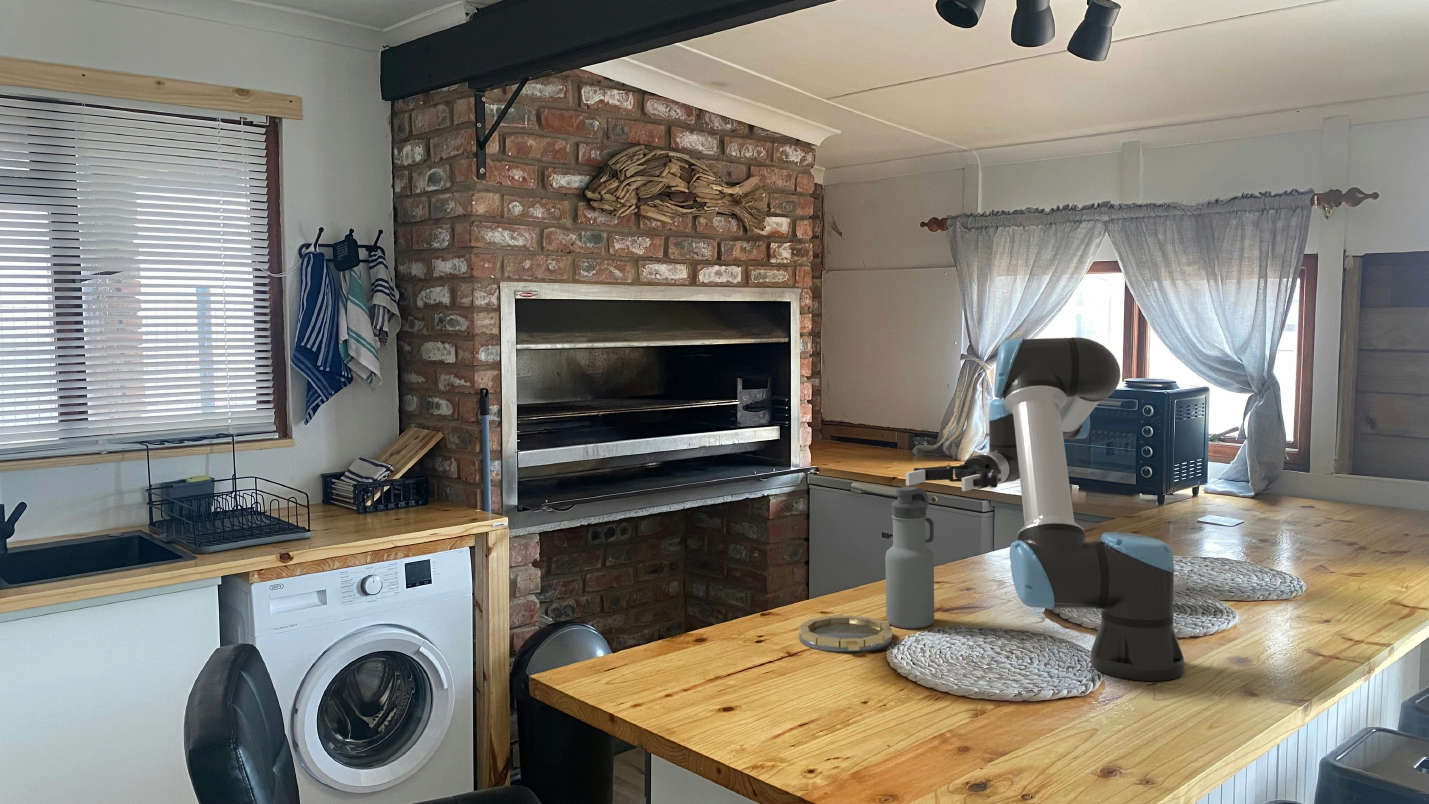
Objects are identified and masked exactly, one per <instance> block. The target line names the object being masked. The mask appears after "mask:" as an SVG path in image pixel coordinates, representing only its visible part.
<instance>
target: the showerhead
mask: <svg viewBox="0 0 1429 804" xmlns="http://www.w3.org/2000/svg"><path fill="white" fill-rule="evenodd" d="M1188 583H1189V582H1188V580H1187V578H1184V577H1182V576H1180V575H1179V576H1178V575H1177V574H1176V575H1174V580H1173V602H1175V600H1176V599H1177V598H1176V595H1177V594H1176V593H1177V591H1183V590H1186V589H1188Z"/></svg>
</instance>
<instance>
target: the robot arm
mask: <svg viewBox="0 0 1429 804" xmlns="http://www.w3.org/2000/svg"><path fill="white" fill-rule="evenodd" d="M996 357H997V358H996V364H995V372H994V381H993V382H994V383H993V384H994V385H993V394H994V397H995V398H994V399H992V400H991V401H990V403H989V409H988V410H989V414H988V431H989V432H988V433H989V434H988V436H989V438H988V441H989V442H988V446H989V448H988V452H985V453H981V454H976V455H972V456H970V457H968V458H967V459H966V460H965V461H964V463H963V464H959V465H949V464H947V465H942V466H940V465H939V466H930V467H929V466H928V467H927V466H926V467H915V468H913V470H912V471H908V472H906V473H905V486H907V487H910V486H913V485H917V484H919V485H923V483H926V481H927V482H928V481H949V482H951V483H956V482H957V483H958V482H959V483H961V491H962V492H967V491H972V490H977V489H978V490H982V489H986V488H990V489H993V488H997V487H998V485H1002V484H1005V483H1010V482H1011V483H1012V482H1015V481H1018V480H1019V482H1020V491H1021V499H1022V500H1021V503H1022V511H1023V521H1024V522H1023V523H1024V526H1022V528H1021V529H1020V530H1019V531H1018V532H1017V534H1016V535H1017V537H1016V538H1017V540H1015V541H1013V542H1011V544H1010V547H1009V561H1010V571H1011V577H1012V581H1013V586H1014V588H1015V591H1016V594H1017V596H1018V598H1019V599H1020V601H1021V603H1023V605H1024V606H1027V607H1029V608H1038V609H1039V608H1042V609H1047V610H1053V609H1085V610H1086V609H1092V610H1093V609H1095V610H1096V609H1099V610H1100V609H1101V618H1100V619H1101V621H1100V625H1099V627H1098V630H1097V633H1096V635H1095V639H1094V641H1093V644H1092V647H1091V650H1090V664H1091V666H1092V668H1094V669H1095V670H1097V671H1099V672H1101V673H1103V674H1106V675H1107V676H1108V675H1109V676H1111V677H1112V676H1113V677H1115V678H1121V679H1126V680H1132V681H1144V682H1145V681H1147V682H1158V681H1159V682H1161V681H1170V680H1174V679H1178V678H1180V677H1182V676H1183V675H1184V674H1185V659H1184V654H1183V652H1182V649H1181V646H1180V643H1179V640H1178V637H1177V634H1176V631H1175V628H1174V601H1173V580H1174V576H1175V575H1174V573H1176V569H1175V565H1174V563H1175V562H1174V556H1173V555H1174V554H1173V549H1172V548H1171V546H1170V545H1169V544H1167V543H1166V542H1164V541H1162V540H1160V539H1158V538H1155V537H1150V536H1146V535H1142V534H1141V535H1140V534H1136V533H1129V532H1122V531H1121V532H1119V531H1111V532H1110V531H1105V532H1103V533H1102V534H1101V536H1100V538H1099V539H1100V541H1087V539H1086V534H1085V533H1086V532H1085V529H1084V528H1083V527H1082V526H1080V525H1079V524H1078V523H1076V522H1075V517H1074V510H1073V502H1072V495H1071V488H1070V487H1071V486H1070V479H1069V478H1070V477H1069V471H1068V465H1067V463H1068V462H1067V455H1066V447H1065V440H1071V441H1072V440H1075V439H1076V440H1077V439H1086V438H1087V437H1088V436H1089V434H1090V433H1089V432H1090V429H1091V418H1090V417H1091V416H1090V415H1091V414H1092V412H1093V410H1094V409H1095V408H1096V407H1097V405H1098V404H1099V403H1100V402H1102V401H1104V400H1107V399H1108V398H1110V396H1112V394H1113V393H1114V392H1115V391H1116V389H1117V388H1118V386H1119V383H1120V382H1121V381H1120V379H1121V367H1120V364H1119V362H1118V361H1117V360H1118V359H1117V358H1116V356H1115V355H1114V353H1113V352H1112V351H1110V349H1109V348H1107V347H1106V346H1104V345H1103V344H1102V343H1100V342H1098V341H1095V340H1093V339H1090V338H1086V337H1085V338H1084V337H1079V336H1078V337H1076V336H1075V337H1049V338H1048V337H1047V338H1025V337H1021V338H1016V339H1014V338H1013V339H1006V340H1004V341H1002V342H1001V343H1000V345H999V348H998V351H997V356H996ZM954 477H955V478H954Z"/></svg>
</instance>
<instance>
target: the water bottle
mask: <svg viewBox="0 0 1429 804" xmlns="http://www.w3.org/2000/svg"><path fill="white" fill-rule="evenodd" d="M895 495H896V496H897V500H895V501H893V502H891V518H892V546H891V547H890V548H888V549H887V550H886V553H885V557H884V559H885V618H886V619H885V620H886V623H888V625H891V626H892V627H896V628H900V629H908V630H909V629H910V630H915V629H916V630H919V629H924V628H928V627H930V626H932V625H933V624H934V622H935V561H934V553H933V551H932V550H931V549H930V548H929V547H928V546H926V543H927V544H929V543H931V542H933V541H934V539H935V530H934V527H935V526H934V520H933V519H931V518H929V517H927V510H928V509H929V496H928V494H927V492H926V490H925V489H924V488H922V487H916V486H915V487H914V486H912V487H911V486H902V487H898V488H895ZM926 522H927V523H928V524H929V537H928V539H926Z"/></svg>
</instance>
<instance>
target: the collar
mask: <svg viewBox="0 0 1429 804" xmlns="http://www.w3.org/2000/svg"><path fill="white" fill-rule="evenodd" d="M798 627H799V629H798V631H799V635H798V637H799V641H800V643H801V644H803V645H805V646H806V647H807V648H810V649H814V650H817V651H822V652H827V653H828V652H830V653H839V654H840V653H842V654H850V653H852V654H855V653H866V652H873V651H879V650H881V649H883V648H887V647H888V646H889V645H890V644H891V643H892V642H893V629H892V627H891V626H890V624H889V623H888V622H885V621H882V620H880V619H876V618H873V617H869V616H868V617H866V616H858V615H843V614H837V615H836V614H833V615H828V616H821V617H816V618H812V619H808V620H806V621H804V622H803V623H801V624H799V626H798Z"/></svg>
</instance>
